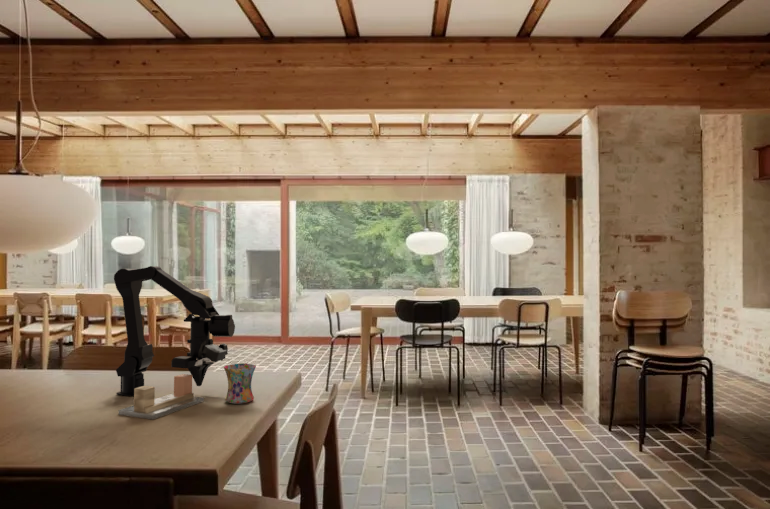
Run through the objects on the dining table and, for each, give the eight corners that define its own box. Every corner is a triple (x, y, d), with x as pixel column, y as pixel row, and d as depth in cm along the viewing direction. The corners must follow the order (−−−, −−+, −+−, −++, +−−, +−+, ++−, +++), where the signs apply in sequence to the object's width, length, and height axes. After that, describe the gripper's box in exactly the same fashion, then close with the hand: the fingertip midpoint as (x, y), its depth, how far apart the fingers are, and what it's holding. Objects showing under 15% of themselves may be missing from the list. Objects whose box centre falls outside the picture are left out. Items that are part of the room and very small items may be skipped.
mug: (257, 404, 156) (258, 368, 157) (225, 407, 153) (226, 370, 153) (251, 394, 167) (251, 361, 168) (220, 397, 164) (221, 362, 164)
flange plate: (118, 414, 144) (118, 409, 144) (171, 397, 163) (171, 393, 163) (152, 419, 140) (152, 414, 140) (203, 401, 159) (203, 397, 159)
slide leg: (173, 396, 158) (174, 376, 158) (182, 393, 161) (182, 374, 161) (183, 397, 157) (183, 377, 157) (191, 394, 160) (192, 374, 160)
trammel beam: (133, 410, 144) (133, 388, 144) (180, 395, 160) (180, 375, 161) (147, 412, 142) (147, 390, 142) (193, 397, 159) (193, 377, 159)
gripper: (200, 341, 154) (199, 395, 154) (239, 333, 172) (238, 382, 172) (170, 339, 158) (169, 391, 158) (211, 332, 176) (210, 379, 175)
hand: (199, 385), depth 166 cm, fingers closed
